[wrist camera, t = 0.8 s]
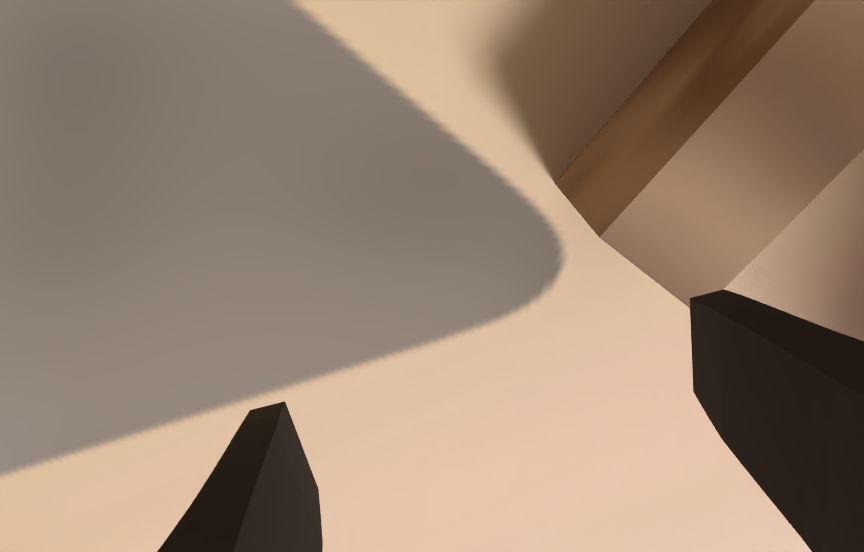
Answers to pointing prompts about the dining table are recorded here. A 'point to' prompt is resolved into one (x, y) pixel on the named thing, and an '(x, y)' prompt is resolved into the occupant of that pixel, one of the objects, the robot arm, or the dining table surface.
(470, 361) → the dining table surface
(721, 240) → the brown rectangular block
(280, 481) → the robot arm
